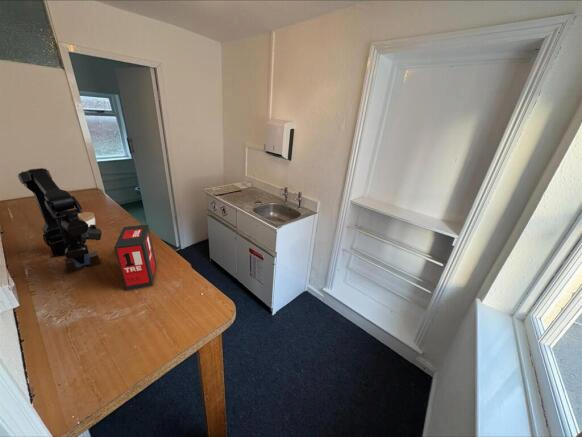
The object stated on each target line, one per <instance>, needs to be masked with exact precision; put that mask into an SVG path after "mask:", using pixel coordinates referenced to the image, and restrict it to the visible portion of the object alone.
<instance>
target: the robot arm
mask: <svg viewBox="0 0 582 437" xmlns="http://www.w3.org/2000/svg"><path fill="white" fill-rule="evenodd" d="M17 177H18V180H19V183H21V184H22V185H23V186H24V187H25V188H26V189H27V190H29V191H30V192H32V193H33V196H34V199H35V201H36V203H37V207H38V209H39V211H40V213H41V216H42V218H43V221H44V225H43V227H42V232H43V234H42V240H43V242H44V244H45V245H46V246H48V247H49V248H50V251H51V253H52V254H51V257H52V258H53V257H63V256H65V257H66V258H65V259H67V258H68V259H69V258H73V259H75V260H76V261H77V262H79V263H80V264H84V263H85V262H84V255H85V254H88V253H90V252H89V247H88V245H87V244H86V242H87V240H88V241H90V240H91V241H101V239H102V233H103V232H102V229H100V228H99V227H97V224H95V225H90V226H89V227H88V224H87V223H86V222H85V221H83V220H82V219H80V218H79V217H78V214H79V213H82V212H83V210H82V209H83V207H82V205H81V203H80V202H79V200H78V199H77V198H76V197H75V196H74V195H71V193H70V192H68V191H67V190H64V189H61V188H60V187H59V186H58V184H57V183H56V182H55V181H54V180H53V177H52V174H51V172H50V170H49V169H46V168H43V167H40V168H30V169H28V170H26V171H21V172H19V173H18V174H17Z"/></svg>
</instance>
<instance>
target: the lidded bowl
mask: <svg viewBox="0 0 582 437" xmlns="http://www.w3.org/2000/svg"><path fill="white" fill-rule="evenodd" d="M78 217H79V218H80V219H82V220H83V221H85V222H86V223H87V224H88V227H89V226H90V225H97V224H96V222H97V220H96V217H95V213H94V212H92V211H82V213H79V214H78Z"/></svg>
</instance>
